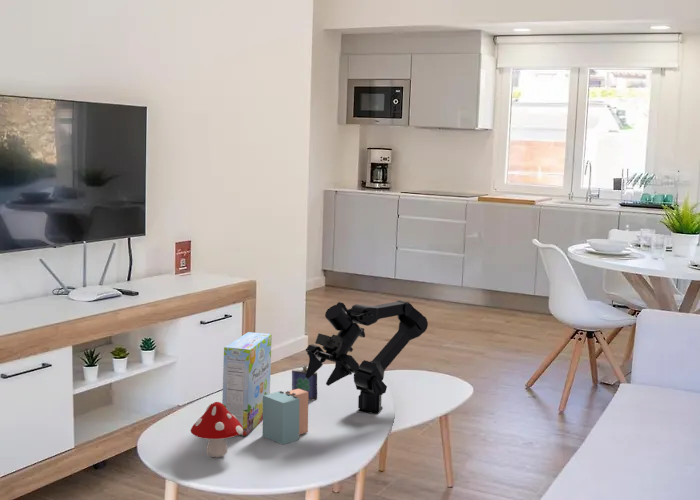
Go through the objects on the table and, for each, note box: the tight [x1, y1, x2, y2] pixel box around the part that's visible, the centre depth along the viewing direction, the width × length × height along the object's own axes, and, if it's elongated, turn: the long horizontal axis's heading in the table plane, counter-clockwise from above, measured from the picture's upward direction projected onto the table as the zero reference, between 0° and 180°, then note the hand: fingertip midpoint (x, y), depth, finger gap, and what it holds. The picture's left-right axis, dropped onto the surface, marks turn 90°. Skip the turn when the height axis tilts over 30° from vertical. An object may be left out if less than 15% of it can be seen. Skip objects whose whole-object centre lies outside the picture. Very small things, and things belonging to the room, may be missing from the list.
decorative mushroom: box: [190, 401, 243, 458], centre depth 218 cm, size 14×14×15 cm
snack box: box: [221, 331, 272, 437], centre depth 243 cm, size 22×9×26 cm, turn 168°
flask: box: [291, 364, 318, 401], centre depth 270 cm, size 9×3×11 cm, turn 65°
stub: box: [284, 389, 309, 436], centre depth 236 cm, size 5×4×12 cm
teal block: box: [262, 390, 300, 446], centre depth 232 cm, size 6×9×12 cm, turn 45°
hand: (316, 381), depth 242 cm, fingers open, 9 cm apart
